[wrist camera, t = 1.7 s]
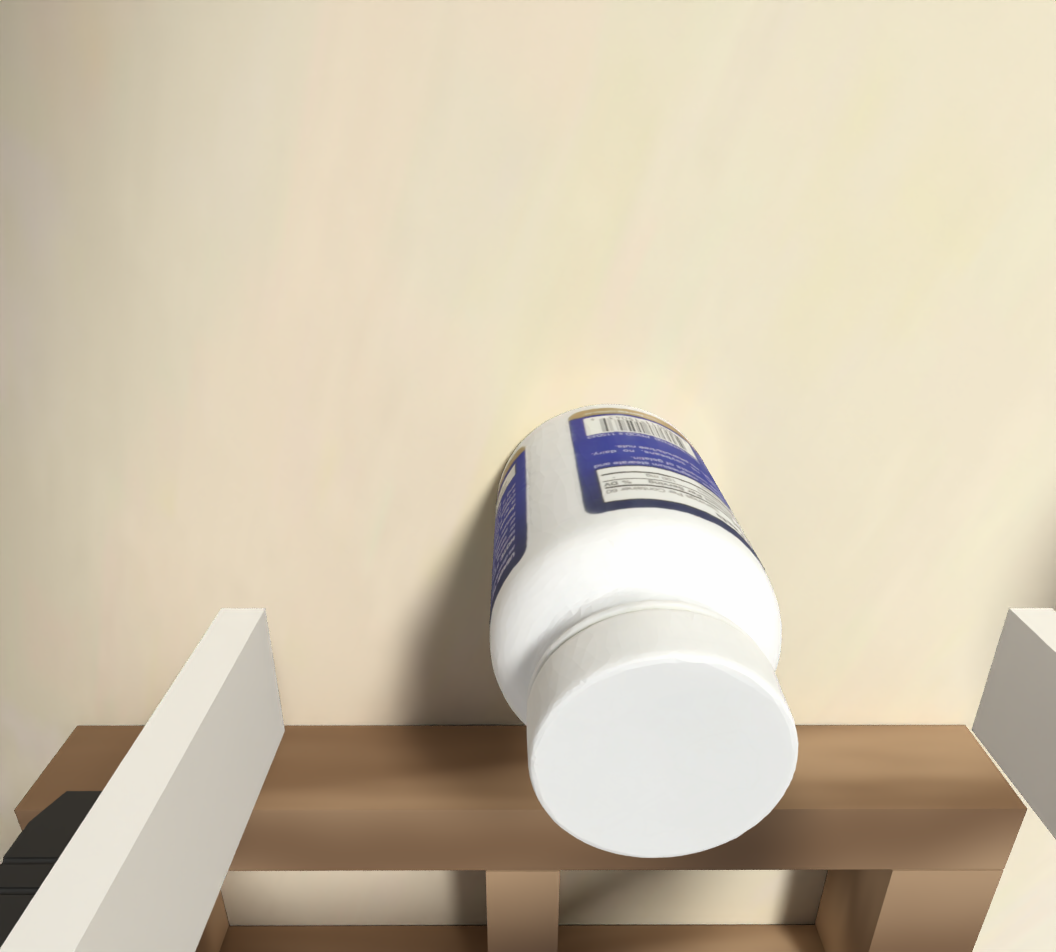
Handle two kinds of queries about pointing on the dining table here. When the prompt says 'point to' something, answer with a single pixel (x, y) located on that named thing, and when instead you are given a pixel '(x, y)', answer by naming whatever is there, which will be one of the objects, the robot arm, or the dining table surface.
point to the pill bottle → (636, 638)
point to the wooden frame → (545, 848)
